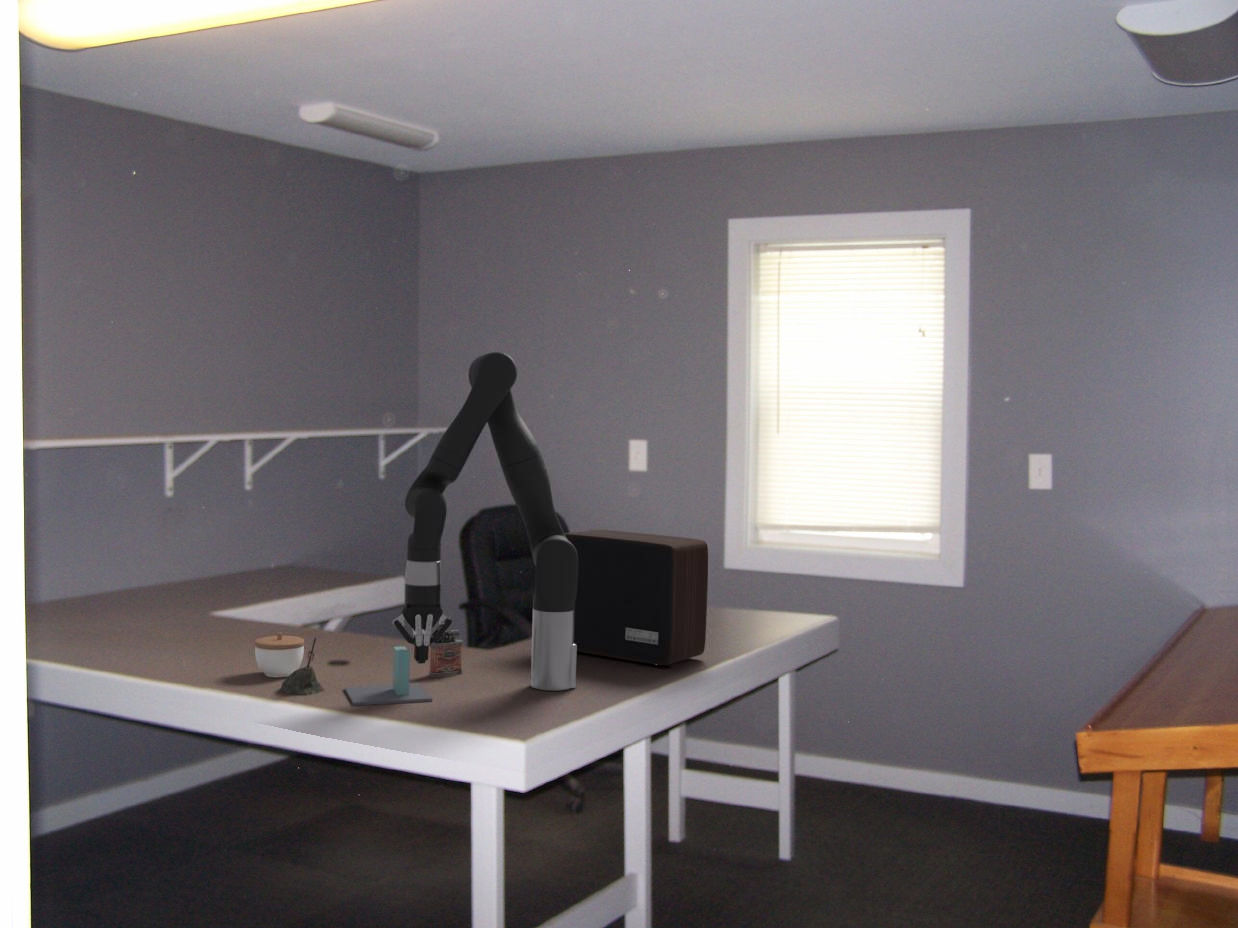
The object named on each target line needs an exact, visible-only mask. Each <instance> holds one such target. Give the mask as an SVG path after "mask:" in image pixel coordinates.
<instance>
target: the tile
mask: <svg viewBox="0 0 1238 928" xmlns="http://www.w3.org/2000/svg"><path fill="white" fill-rule="evenodd" d="M392 655H393V658H392V659H393V661H392V662H393V663H392V664H393V665H392V685H393V690H394V691H395V692H396V694H397V695H409V684H410V676H411V675H410V674H411V673H410V671H411V669H410V668H411V664H410V663H411V651H410V650H409V649H408V648H407V647H406V646H405V645H404V646H393V654H392Z"/></svg>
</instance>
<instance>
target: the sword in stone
mask: <svg viewBox="0 0 1238 928" xmlns="http://www.w3.org/2000/svg"><path fill="white" fill-rule="evenodd" d="M316 640H317V638H316V637H314V638H313V643H312V646H311V649H310V650H308V652H307V660H308V661H307V665H306V666H304V667H301V668H298V669H297V670H296V671H294V672H293V673H292V674H291V675H290V676H288V677H286V678H285V679H284V680H283V682H281V687H280V692H282V693H284V694H287V695H296V696H311V695H317V694H319V693H322V692H323V691H325V689H324V688H323V687H322V685H321V684H320V683H319V682H318V680H317V677H316V674H315V673H316V672H315V669H314V668H313V666H310V665H311V663H313V659H314V656H315V653H314V649H315V645H316Z"/></svg>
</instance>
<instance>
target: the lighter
mask: <svg viewBox="0 0 1238 928" xmlns="http://www.w3.org/2000/svg"><path fill="white" fill-rule="evenodd" d="M456 637H461V631H460V630H459V629H456V630H449V631H448V630H446V631H445V632H444V634H443V635H442V636H441V638H440V639H439V640H438V641H437V642H436V643H431V644H430V645H429V647H430V649H429V650H430V654H429V657H430V659H429V663H430V664H429V671H428V672H429V673H428V676H429V677H432V678H439V677H442V678H443V677H451V676H457V675H462V674H463V669H462V660H463V644H464V640H462V639H456Z"/></svg>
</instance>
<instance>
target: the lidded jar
mask: <svg viewBox="0 0 1238 928" xmlns="http://www.w3.org/2000/svg"><path fill="white" fill-rule="evenodd" d="M304 647H305V639H304V638H303V637H300V636H294V635H283V632H277V635H272V636H270V635H269V636H264V637H260V638H257V639H255V640H254V648H255V649H254V654H255V655H254V656H255V661H256V664H257V666H258V668H259V669H260V671H261V672H262V673H264V675H265V677H268V678H288V677H289V676H290V675H291V674H292V673H293V672H294V671H296V670H299V669H300V666H301V664H302V662H303V658H304V654H305V653H304V651H305V648H304Z"/></svg>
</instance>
